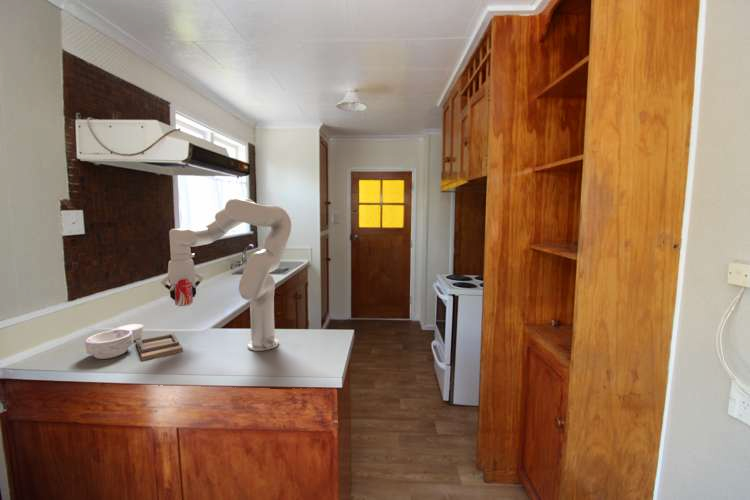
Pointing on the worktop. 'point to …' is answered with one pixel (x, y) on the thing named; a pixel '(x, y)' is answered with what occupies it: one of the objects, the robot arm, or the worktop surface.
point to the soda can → (183, 292)
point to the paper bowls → (109, 343)
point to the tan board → (159, 351)
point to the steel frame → (159, 345)
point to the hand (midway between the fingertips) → (183, 297)
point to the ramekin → (133, 330)
